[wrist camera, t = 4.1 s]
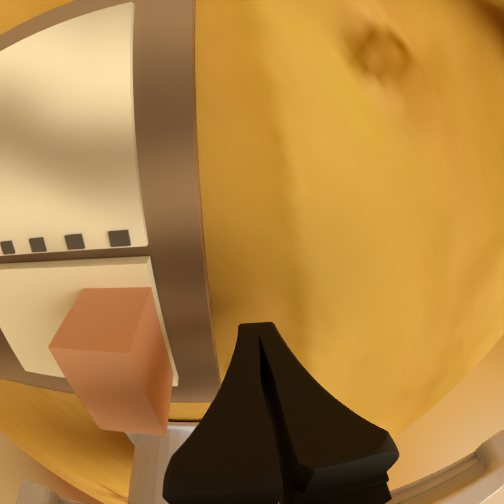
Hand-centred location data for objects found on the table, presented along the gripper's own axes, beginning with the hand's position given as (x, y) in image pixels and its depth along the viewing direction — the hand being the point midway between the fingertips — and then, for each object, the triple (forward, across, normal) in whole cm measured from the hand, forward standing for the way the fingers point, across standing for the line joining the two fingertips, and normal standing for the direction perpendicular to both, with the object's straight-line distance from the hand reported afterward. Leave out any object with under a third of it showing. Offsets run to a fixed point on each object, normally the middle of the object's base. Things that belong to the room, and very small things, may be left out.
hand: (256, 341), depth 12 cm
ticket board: (+2, +14, -4) cm, 15 cm away
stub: (+1, +9, 0) cm, 9 cm away
